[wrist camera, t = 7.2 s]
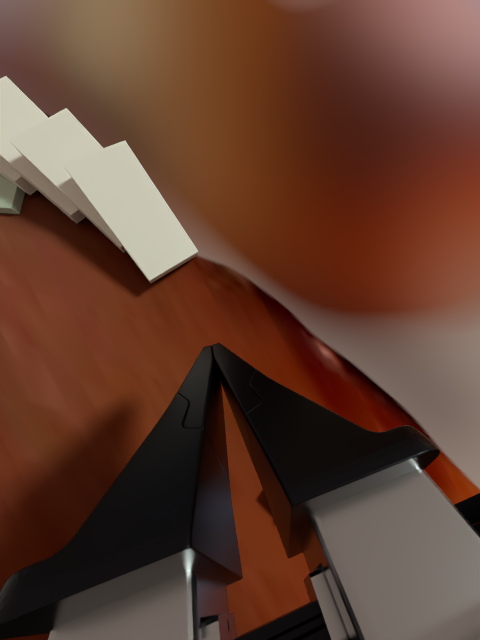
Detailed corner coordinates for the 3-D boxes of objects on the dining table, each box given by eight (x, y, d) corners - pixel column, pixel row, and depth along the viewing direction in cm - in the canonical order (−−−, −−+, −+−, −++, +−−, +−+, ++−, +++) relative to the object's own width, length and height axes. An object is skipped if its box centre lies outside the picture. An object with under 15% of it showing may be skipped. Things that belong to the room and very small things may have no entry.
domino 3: (114, 182, 19) (5, 76, 16) (70, 215, 18) (-57, 105, 15) (117, 193, 20) (18, 96, 18) (76, 223, 19) (-38, 124, 16)
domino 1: (198, 251, 18) (125, 140, 16) (149, 280, 17) (62, 163, 15) (195, 256, 20) (128, 155, 18) (150, 283, 19) (71, 177, 16)
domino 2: (163, 213, 19) (66, 107, 16) (120, 247, 18) (8, 140, 15) (163, 220, 20) (74, 125, 18) (123, 252, 19) (22, 156, 16)
